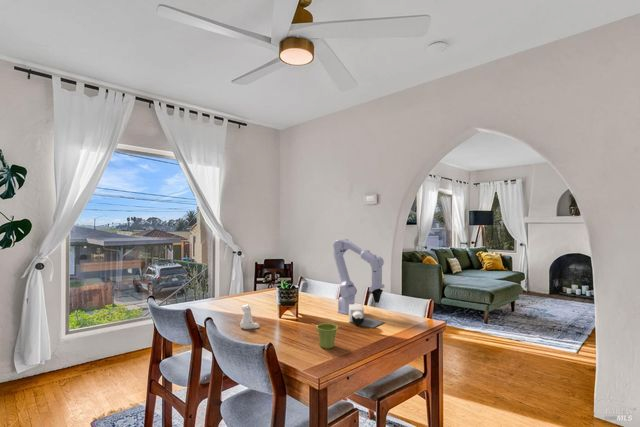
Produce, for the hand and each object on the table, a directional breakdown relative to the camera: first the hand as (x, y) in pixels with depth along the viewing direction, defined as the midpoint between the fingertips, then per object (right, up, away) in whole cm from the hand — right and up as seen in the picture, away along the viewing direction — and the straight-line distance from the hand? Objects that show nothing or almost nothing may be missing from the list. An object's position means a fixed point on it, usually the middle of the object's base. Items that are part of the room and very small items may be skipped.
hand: (376, 302), depth 197 cm
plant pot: (-29, -8, -44) cm, 53 cm away
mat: (-7, -9, -9) cm, 14 cm away
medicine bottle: (-13, -4, -3) cm, 13 cm away
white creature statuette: (-69, -9, -17) cm, 72 cm away
